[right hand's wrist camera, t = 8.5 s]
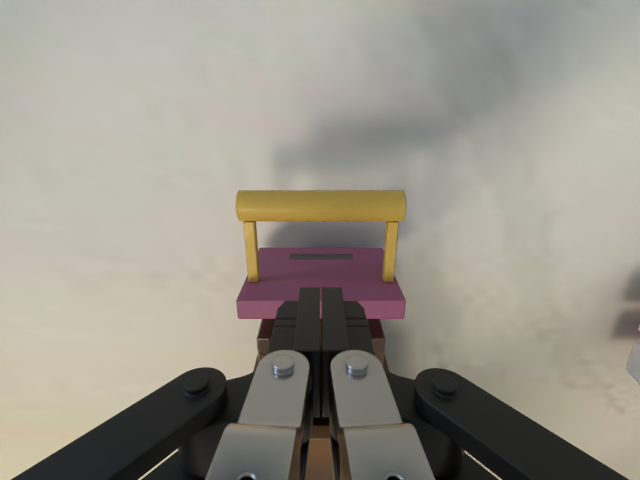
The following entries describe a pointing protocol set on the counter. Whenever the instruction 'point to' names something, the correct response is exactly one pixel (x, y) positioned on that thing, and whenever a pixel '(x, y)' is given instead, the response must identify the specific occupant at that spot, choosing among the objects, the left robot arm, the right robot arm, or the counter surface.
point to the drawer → (321, 260)
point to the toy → (634, 361)
